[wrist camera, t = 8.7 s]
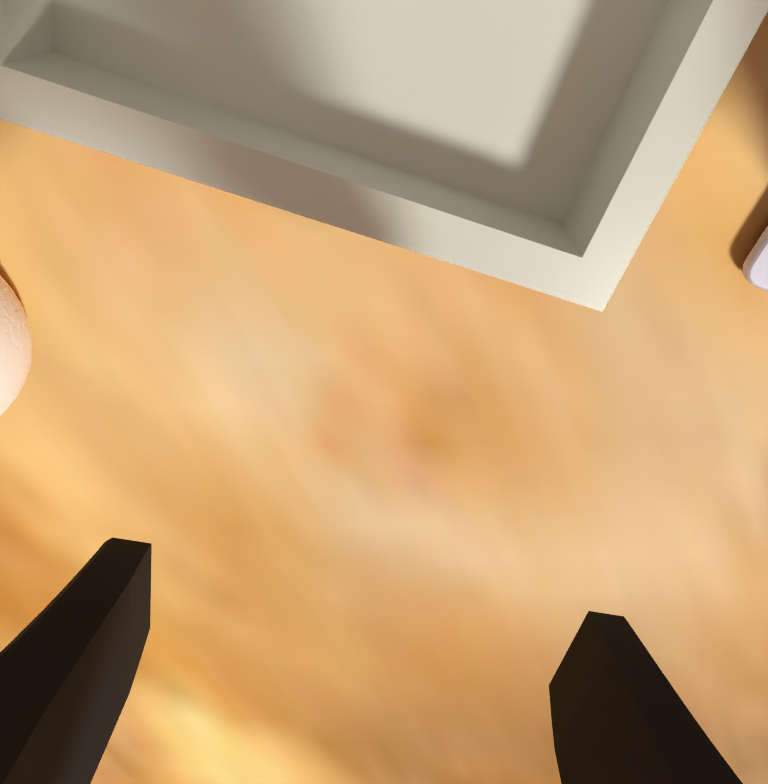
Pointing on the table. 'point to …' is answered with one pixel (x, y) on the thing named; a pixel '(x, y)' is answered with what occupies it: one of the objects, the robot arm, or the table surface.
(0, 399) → the garlic bulb
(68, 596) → the robot arm
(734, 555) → the table surface
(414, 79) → the tray
